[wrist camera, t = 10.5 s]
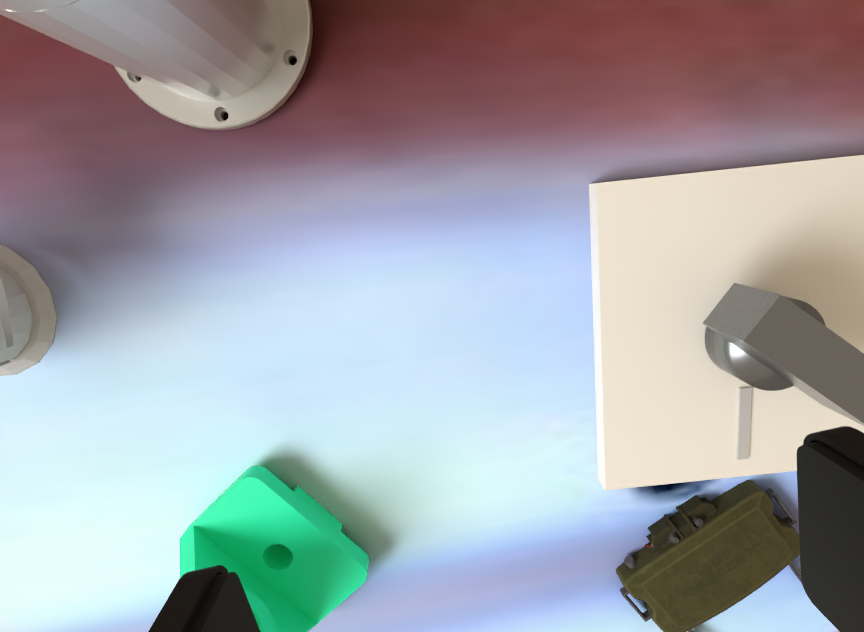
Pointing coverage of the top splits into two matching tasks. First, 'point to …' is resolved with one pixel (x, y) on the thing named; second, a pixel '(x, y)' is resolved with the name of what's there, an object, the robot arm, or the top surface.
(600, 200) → the dial plate
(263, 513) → the camera mount
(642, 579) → the landmine
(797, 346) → the knob
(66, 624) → the top surface
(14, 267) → the french press
